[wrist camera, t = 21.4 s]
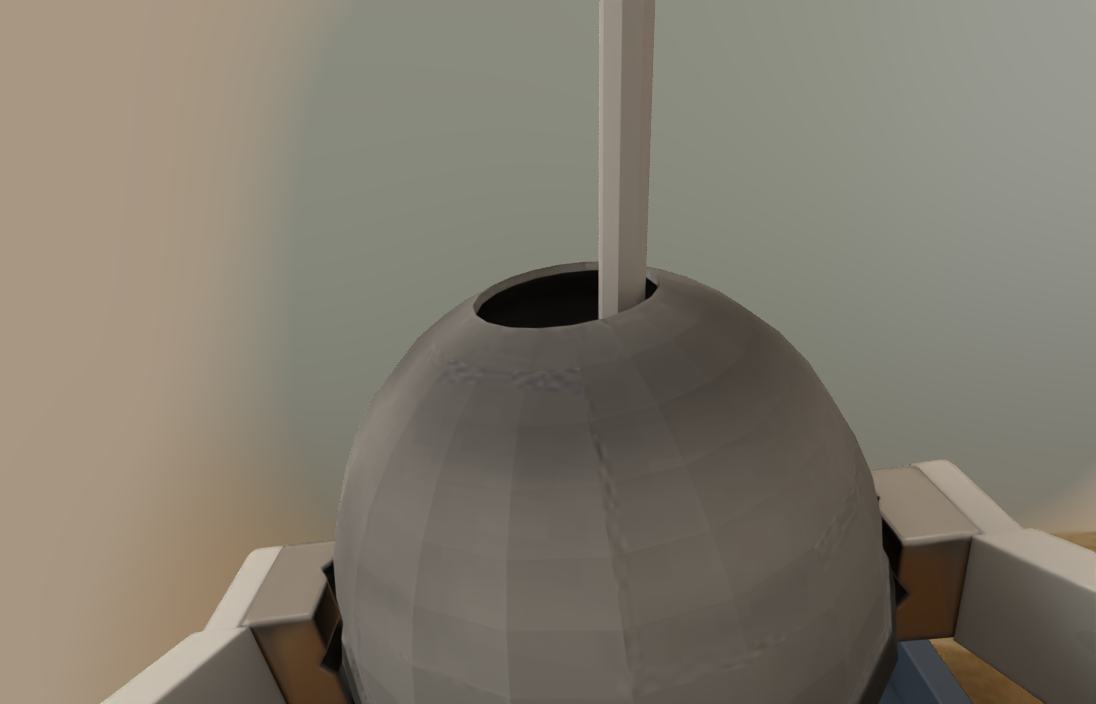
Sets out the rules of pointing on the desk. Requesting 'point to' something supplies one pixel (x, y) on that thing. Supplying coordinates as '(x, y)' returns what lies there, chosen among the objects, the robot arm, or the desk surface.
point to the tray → (919, 678)
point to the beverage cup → (610, 485)
